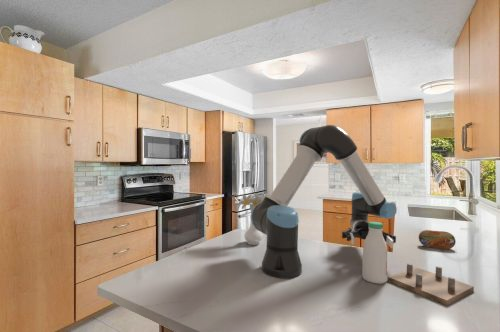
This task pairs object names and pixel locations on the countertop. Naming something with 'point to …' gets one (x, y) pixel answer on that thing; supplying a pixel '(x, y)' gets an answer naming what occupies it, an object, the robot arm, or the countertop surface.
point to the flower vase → (252, 234)
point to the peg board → (431, 284)
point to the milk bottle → (375, 255)
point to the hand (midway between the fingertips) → (372, 242)
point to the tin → (437, 239)
